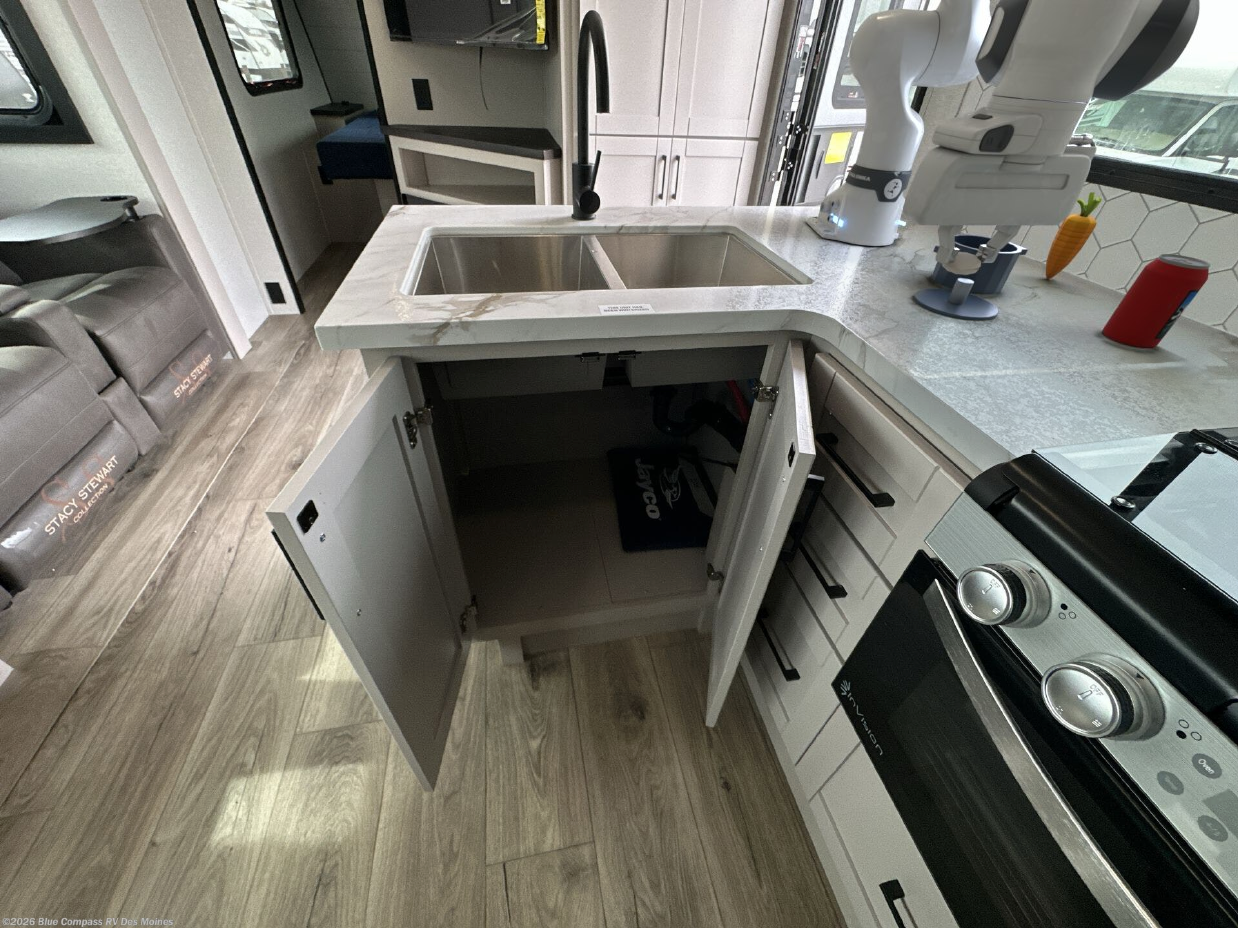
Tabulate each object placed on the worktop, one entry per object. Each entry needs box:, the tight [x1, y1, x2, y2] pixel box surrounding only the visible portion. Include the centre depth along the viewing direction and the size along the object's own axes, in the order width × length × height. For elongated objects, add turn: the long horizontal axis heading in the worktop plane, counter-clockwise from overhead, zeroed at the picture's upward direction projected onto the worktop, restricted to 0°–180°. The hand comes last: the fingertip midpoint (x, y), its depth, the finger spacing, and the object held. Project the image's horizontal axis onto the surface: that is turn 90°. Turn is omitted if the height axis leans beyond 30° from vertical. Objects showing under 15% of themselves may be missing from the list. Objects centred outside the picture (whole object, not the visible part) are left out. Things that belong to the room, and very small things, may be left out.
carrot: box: [1045, 191, 1103, 280], centre depth 95 cm, size 5×5×15 cm
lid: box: [913, 278, 999, 321], centre depth 83 cm, size 12×12×5 cm
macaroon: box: [942, 252, 981, 275], centre depth 64 cm, size 4×5×2 cm
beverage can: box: [1102, 253, 1211, 349], centre depth 73 cm, size 7×7×12 cm
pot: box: [930, 233, 1029, 296], centre depth 91 cm, size 11×17×8 cm
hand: (963, 261), depth 64 cm, fingers closed on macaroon, 4 cm apart
